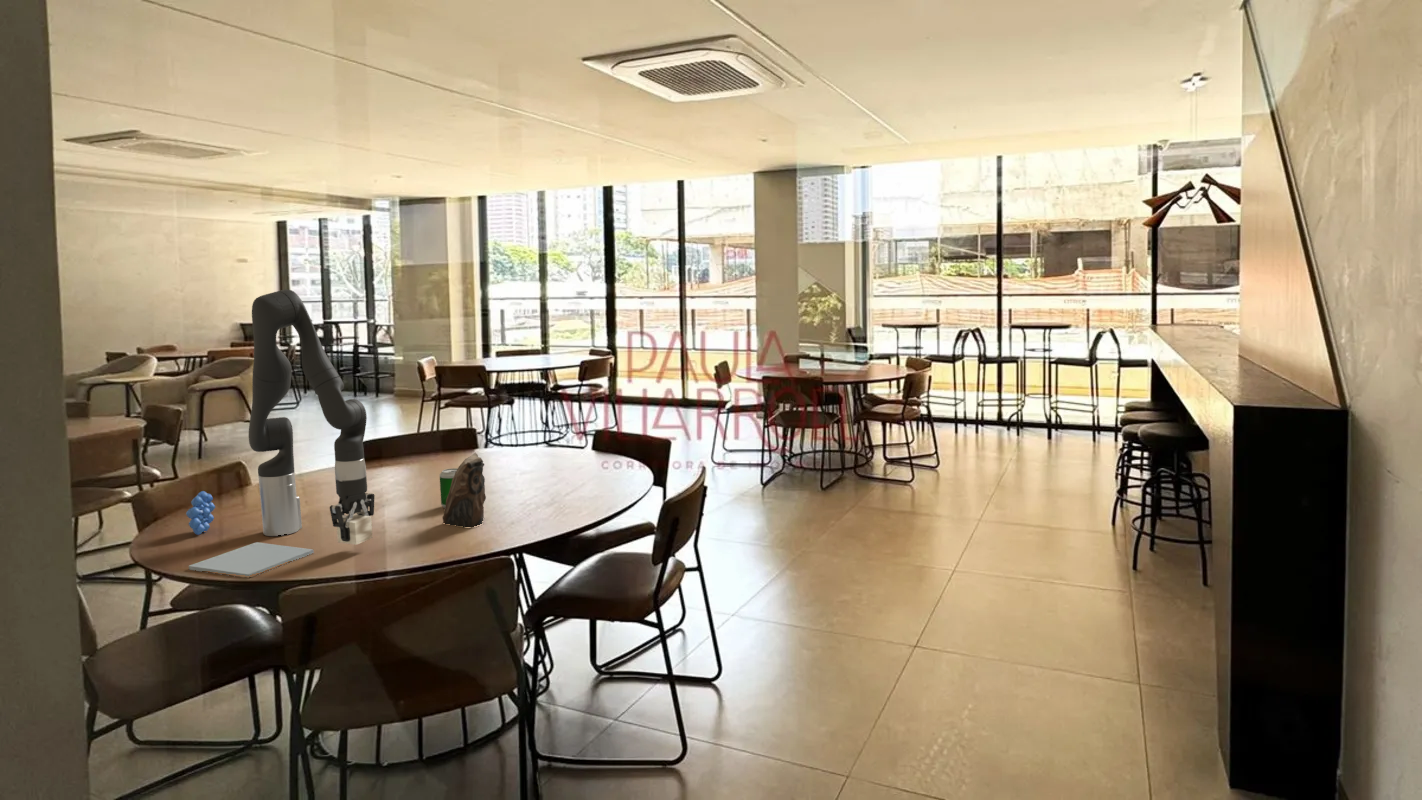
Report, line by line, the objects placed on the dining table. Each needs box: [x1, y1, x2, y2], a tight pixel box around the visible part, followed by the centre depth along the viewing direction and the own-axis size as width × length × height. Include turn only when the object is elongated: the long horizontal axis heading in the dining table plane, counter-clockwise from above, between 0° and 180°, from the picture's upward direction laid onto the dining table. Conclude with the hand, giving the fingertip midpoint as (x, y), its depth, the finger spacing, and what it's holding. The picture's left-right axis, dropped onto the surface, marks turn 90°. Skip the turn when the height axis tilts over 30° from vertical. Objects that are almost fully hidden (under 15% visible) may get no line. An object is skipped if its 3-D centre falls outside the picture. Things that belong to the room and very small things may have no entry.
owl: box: [442, 452, 487, 528], centre depth 244 cm, size 13×13×20 cm
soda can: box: [439, 467, 458, 509], centre depth 262 cm, size 8×8×12 cm
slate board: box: [188, 541, 315, 576], centre depth 213 cm, size 20×20×1 cm
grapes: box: [185, 490, 216, 536], centre depth 237 cm, size 12×7×12 cm, turn 5°
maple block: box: [336, 513, 373, 546], centre depth 219 cm, size 6×6×6 cm
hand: (355, 536), depth 220 cm, fingers closed on maple block, 6 cm apart
